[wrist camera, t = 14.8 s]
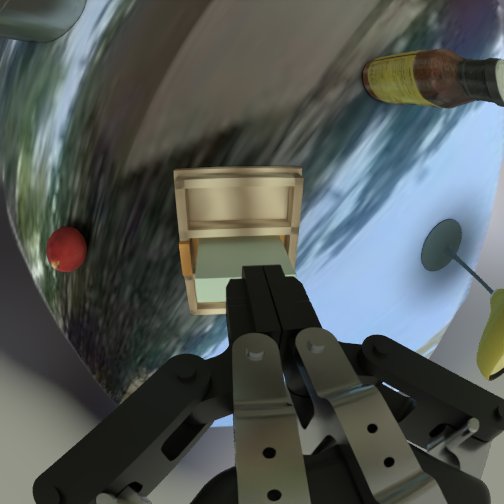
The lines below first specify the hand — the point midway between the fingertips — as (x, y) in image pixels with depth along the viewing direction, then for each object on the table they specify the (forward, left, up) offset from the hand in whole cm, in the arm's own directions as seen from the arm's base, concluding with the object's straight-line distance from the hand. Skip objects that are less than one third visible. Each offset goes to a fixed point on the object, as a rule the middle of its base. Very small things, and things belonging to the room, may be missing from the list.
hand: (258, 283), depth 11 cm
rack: (+1, -10, -23) cm, 25 cm away
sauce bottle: (+19, +13, -23) cm, 33 cm away
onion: (-22, -8, -23) cm, 33 cm away
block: (+1, -10, -22) cm, 24 cm away
